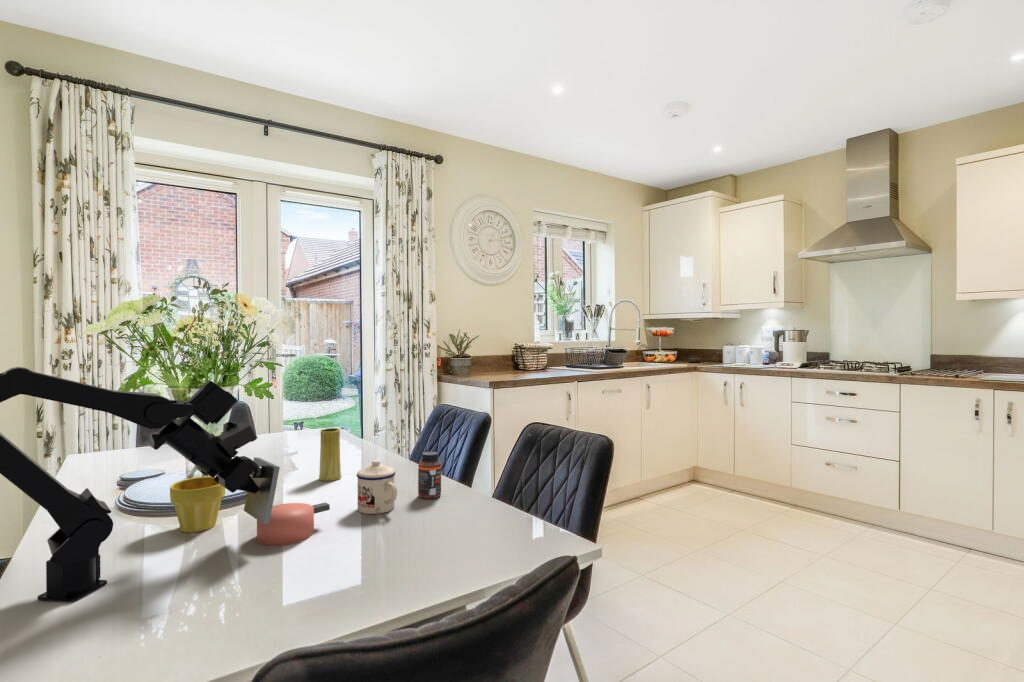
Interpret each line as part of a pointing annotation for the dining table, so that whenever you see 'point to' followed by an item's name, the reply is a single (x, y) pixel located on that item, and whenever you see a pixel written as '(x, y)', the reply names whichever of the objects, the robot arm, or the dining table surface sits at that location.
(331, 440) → the vase
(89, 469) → the dining table surface
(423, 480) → the supplement bottle
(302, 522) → the cooker pot
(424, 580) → the dining table surface
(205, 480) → the plant pot
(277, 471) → the lid
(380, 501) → the teacup with lid
